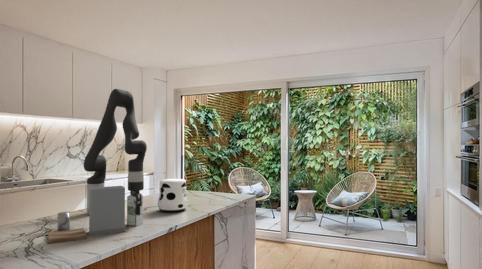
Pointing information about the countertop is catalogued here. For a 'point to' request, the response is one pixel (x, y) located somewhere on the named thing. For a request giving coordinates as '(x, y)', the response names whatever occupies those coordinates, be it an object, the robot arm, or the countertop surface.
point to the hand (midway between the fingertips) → (135, 213)
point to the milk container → (172, 195)
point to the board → (67, 235)
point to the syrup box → (133, 212)
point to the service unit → (107, 210)
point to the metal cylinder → (63, 221)
